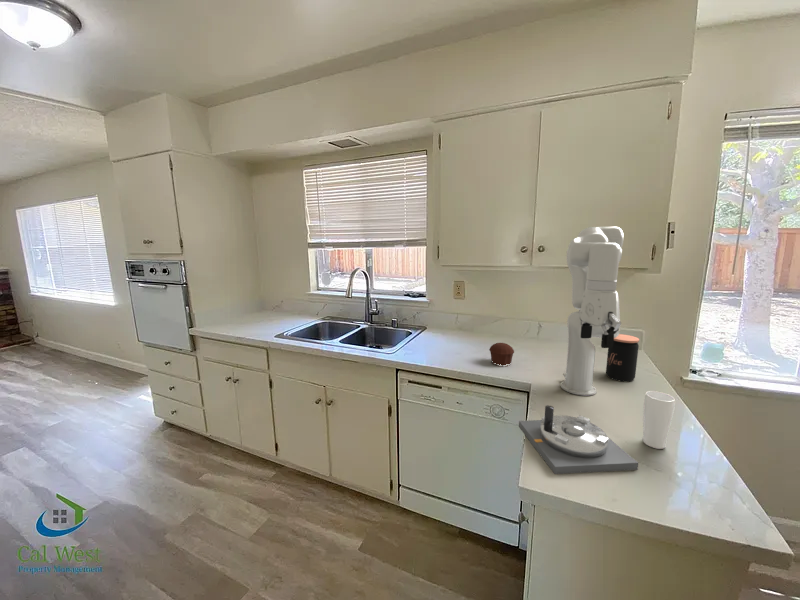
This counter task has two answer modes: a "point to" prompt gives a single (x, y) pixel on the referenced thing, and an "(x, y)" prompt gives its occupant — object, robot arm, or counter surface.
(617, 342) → the coffee jar
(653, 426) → the drinking glass
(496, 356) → the muffin
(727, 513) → the counter surface
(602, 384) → the counter surface
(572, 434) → the round metal lid
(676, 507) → the counter surface
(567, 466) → the gray square base plate
